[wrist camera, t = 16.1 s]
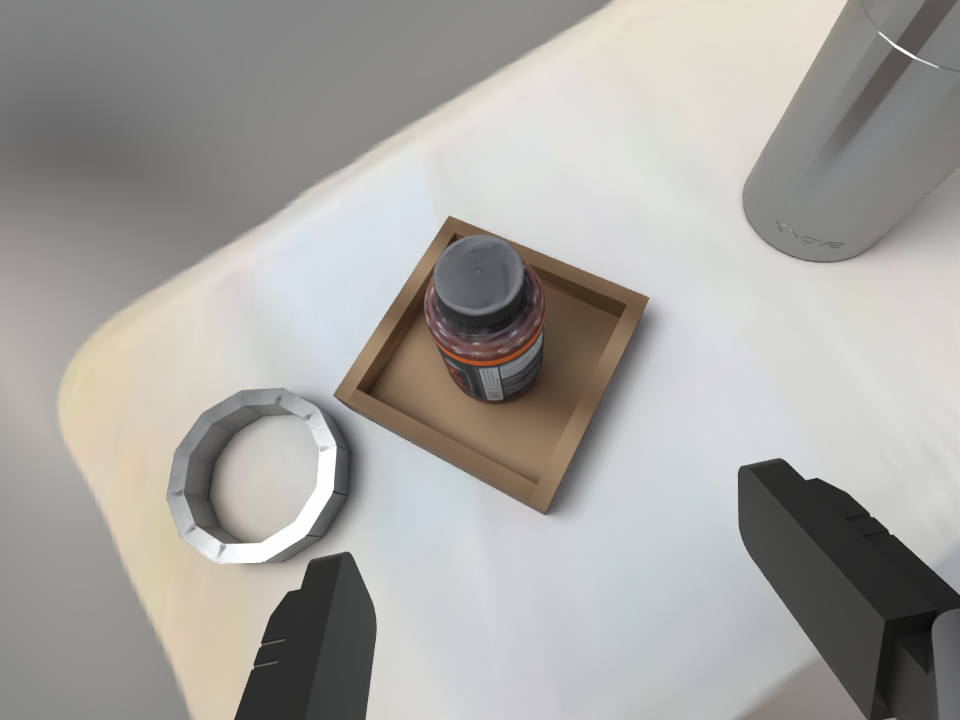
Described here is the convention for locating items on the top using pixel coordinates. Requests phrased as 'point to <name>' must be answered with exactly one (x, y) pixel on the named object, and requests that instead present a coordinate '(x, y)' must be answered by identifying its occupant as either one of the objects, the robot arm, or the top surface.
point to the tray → (510, 425)
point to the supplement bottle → (487, 318)
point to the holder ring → (208, 442)
